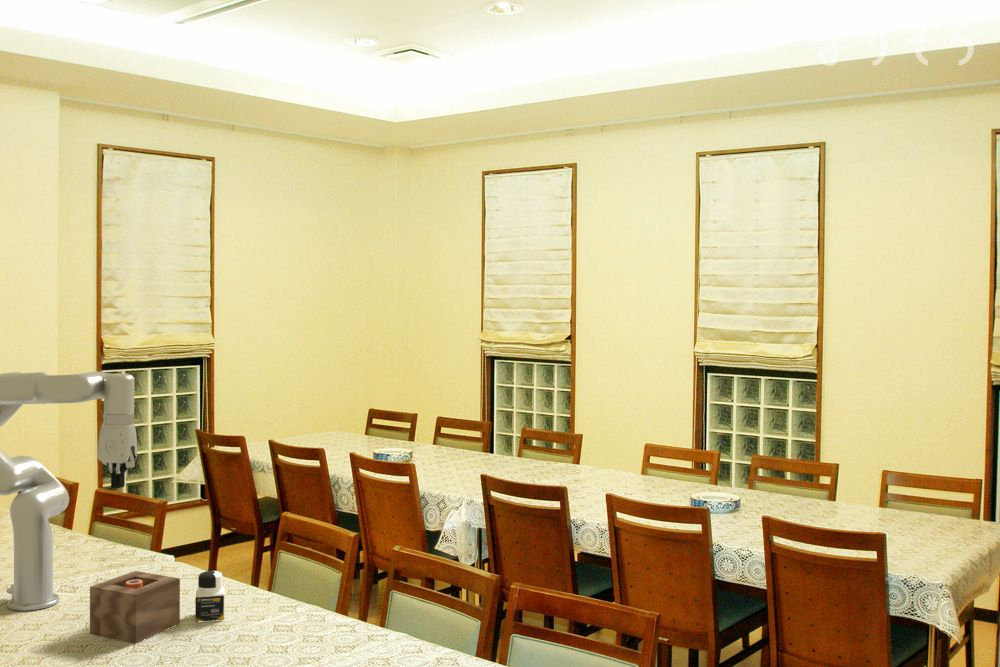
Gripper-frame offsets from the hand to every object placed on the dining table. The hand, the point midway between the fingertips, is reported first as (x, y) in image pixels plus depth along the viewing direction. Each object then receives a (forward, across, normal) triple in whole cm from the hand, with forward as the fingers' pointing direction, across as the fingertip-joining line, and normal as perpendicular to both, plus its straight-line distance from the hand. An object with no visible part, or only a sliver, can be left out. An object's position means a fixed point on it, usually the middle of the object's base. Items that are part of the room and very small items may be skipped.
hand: (117, 487), depth 251 cm
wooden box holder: (+33, +17, -10) cm, 38 cm away
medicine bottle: (+33, +28, +5) cm, 43 cm away
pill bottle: (+32, +17, -10) cm, 37 cm away
